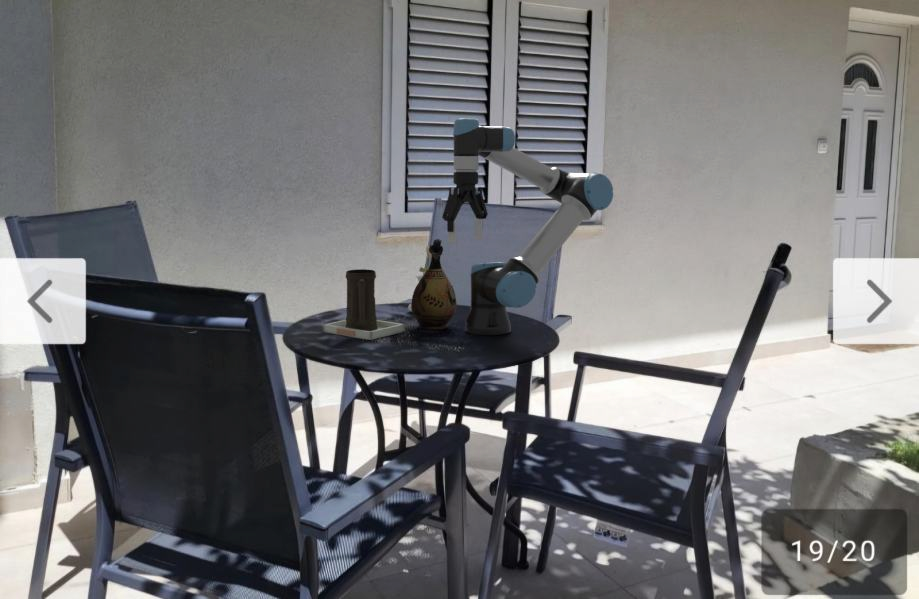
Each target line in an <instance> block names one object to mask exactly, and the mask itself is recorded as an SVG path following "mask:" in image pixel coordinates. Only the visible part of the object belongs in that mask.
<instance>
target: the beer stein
mask: <svg viewBox="0 0 919 599" xmlns="http://www.w3.org/2000/svg"><path fill="white" fill-rule="evenodd" d="M376 273H377V272H376V270H374V269H364V268H363V269H362V268H361V269H360V268H359V269H349V270H346V271H345V278H346V318H345V320H346V326H345V327H346V328H352V329H358V330H365V331H374V330H377V329H378V326H377V320H378V318H377V312H376V297H375V286H376V284H375V283H376V282H375V281H376V278H377V274H376Z"/></svg>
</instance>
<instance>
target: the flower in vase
mask: <svg viewBox="0 0 919 599" xmlns="http://www.w3.org/2000/svg"><path fill="white" fill-rule="evenodd" d="M429 247H430V245H426V247H425V250H426V255H427V256H428V257H427V258H426V262H425V265H424V268H423V267H422V266H420V268H419V270H418V272H420V273H422V274H420V275H419V274H418V275H416V278H417V280H418V282H419V281H420V280H421V278H422V277H423V275H424V274H425V272H426V271H427V270H428V269H429V266H430V265H427V262H429V261H431V257H432V254H431V253H430V252H429ZM407 309H408V311H409V312H412V309H411V303H409V305H408V307H407Z"/></svg>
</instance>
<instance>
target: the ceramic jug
mask: <svg viewBox="0 0 919 599" xmlns="http://www.w3.org/2000/svg"><path fill="white" fill-rule="evenodd" d="M429 246H430V247H429ZM429 246H428V247H429V252H430V253H431V254H432V257H431V260H430V264H429V265H428V266H429V269H428V270H426V271H425V272H424V275H423V274H422V275H423V277H422V278H421V280H420V281H419V280H418V283H417V284H416V286H415V288H414V290H413V293H412V297H411V303H410V304H411V309H412V311H411V312H412V315H413V317H414V319H415V320H416V321H417V323H418V329H423V330H427V331H428V330H429V331H433V330H444V329H446V327H447V325H448V323H449V322H450V321H451V320H452V319H453V317H454V315H455V313H456V310H457V295H456V292H455V289H454V286H453V285H452V283H451V281H450V280H449V278H448V276H447V275H446V273H445V271H444V270H443V267H442V264H441V256H442V255H443V251H444V247H443V245H442V239H440V238H437V239H434V240H433V243H432V244H431V245H429Z"/></svg>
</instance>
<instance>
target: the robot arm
mask: <svg viewBox="0 0 919 599" xmlns="http://www.w3.org/2000/svg"><path fill="white" fill-rule="evenodd" d="M452 136H453V170H454V172H453V180H452V181H453V182H452V183H453V184H454V185H456V186H455V187H449V188H448V197H447V200H446V203H445V207H444V210H443V214H442V216H441V218H442V220H443V221H444V222H445V221H446V223H447V224H446V226H447V243H448V244H457V242H458V241H457V240H458V235H457V230H458V229H457V228H458V227H457V225H458V224H457V222H458V221H456V219H457V217H458V214H459V212H460V210H461V208H462V206H463V205H464V204H465V203H468V204H469V206H470V208H471V210H472V212H473V215H474V216H475V218H474V220H473V222H474V224H473V225H474V226H473V240H477V241H483V240H484V239H483V236H484V234H483V233H484V229H483V228H484V219H487V217H488V208H487V206H486V202H485V199H484V195H483V187H482V186H476V185H478V184H479V172H478V171H479V168H480V167H479V164H480V163H479V157H481V158H483V159H484V160H487V161H489V162H491V163H492V164H494V165H496V166H498V167H500V168H502V169H503V170H505V171H507V172H509V173H511V174H513V175H514V176H516V177H518V178H520V179H522V180H524V181H525V182H528V183H529V184H531V185H534V186H535V187H537V188H539V189H540V192H541V193H542V194H543V195H546V196H548V197H549V198H551V199H552V200H554V201H556V202H559V203H560V206H558V208H557V210H556V211H555V212H554V213H553V214H552V216H550V218H549V219H548V220H547V221H546V223H545V224H544V225H543V226H542V228H540V230H539V231H538V232H537V233H536V235H535V236H534V237H533V238H532V240H530V242H529V243H528V245H527V246H526V247H525V248H524V249H523V250H522V251H521V253H520V254H519V255H518V256H517V257H511V258H509V260H508V261H507V262H504V261H502V262H501V261H500V262H482V263H473V265H471V267H470V268H471V270H470V309H469V312H468V315H467V318H466V322H465V325H464V326H465V332H466V333H468V334H473V335H479V336H499V335H505V334H510V333H511V330H512V328H511V327H512V326H511V322H510V318H509V314H508V311H507V308H513V309H515V308H516V309H517V308H523V307H525V306H527V305H529V304H530V303H531V301H533V299H534V298H535V296H536V293H537V291H536V288H537V284H538V283H539V282H540V278H539V277H540V276H539V274H540V273H541V272H542V270H543V269H544V268H546V266H547V264H548V263H549V262H550V261H551V259H553V257H554V256H555V255H556V253H557V252H558V251H559V250H560V249H561V248H562V246H564V244H565V242H566V241H567V240H568V239H569V238H570V237H571V236H572V235H573V233H574V231H576V229H577V228H578V227H579V226H580V225H581V223H582V222H584V221H590V220H591V219H592V217H593V216H594V215H595V213H597V211H603V210H606V209H607V208H608V207H610V205H611V203H612V201H613V199H614V192H613V191H614V187H613V184H612V182H611V180H610V178H608V177H607V176H606V175H605V174H604V173H603V174H602V173H597V172H591V173H589V172H588V173H586V172H585V173H584V172H570V171H565V170H561V169H560V168H558V167H556V166H553V167H550V166H548V165H546V164H544V163H543V162H540V161H539V160H538V159H536V158H533V157H532V156H530V155H528V154H526V153H525V152H523V151H521V150H519V149H518V148H515V147H514V146H515V143H516V142H515V141H516V135H515V131H514V129H512V128H511V127H508V126H490V125H489V126H488V125H487V126H482V125H480V121H479V119H477V118H458V119H456V120H455V121H454V123H453V133H452Z"/></svg>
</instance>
